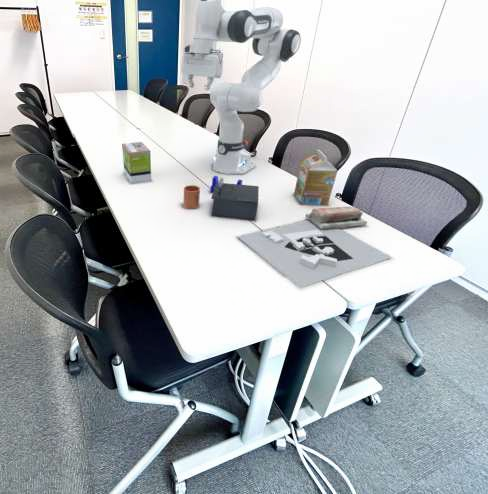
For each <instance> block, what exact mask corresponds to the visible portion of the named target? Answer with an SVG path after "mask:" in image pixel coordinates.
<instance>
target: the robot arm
mask: <svg viewBox="0 0 488 494" xmlns="http://www.w3.org/2000/svg"><path fill="white" fill-rule="evenodd" d="M283 24H284V16H283V13H282V12H281V11H280V10H279V9H277V8H274V7H270V6H269V7H268V6H264V7H263V6H262V7H257V8H254V9H251V10H248V9H242V10H241V9H240V10H231V11H227V10H226V9H225V8H224V7H223V5H222V0H199V2H198V5H197V9H196V14H195V22H194V28H195V29H194V30H195V31H194V35H193V38H192V42H190V43H188V44H186V45H185V46H184V47H183V49H182V52H183V53H184V54H183V55H182V60H181V69H180V70H181V74H183V75H187V76H186V78H187V82H188V88H191V89H194V88H195V82H194V76H195V77H205V78H206V81H207V82H206V84H204V87H203V90H204V91H210V93H209V100H210V103H211V104H212V106H213V107H214V108H215V111H216V113H217V117H218V121H219V133H218V140H217V147H216V148H217V149H216V151H215V156H213V160H214V161H213V163H212V166H213V167H212V169H213V170H214V171H215V172H217V173H220V174H227V175H244V174H245V173H247V172H249V171H251V170H252V169H254V168H255V167H256V164H255V163H254V162H252V157H256V156H257V153H258V152H257V150H256V149H255V150H253V153H254V154H251V153H250V152H249V151H247V150H246V149H245V146H247V145H248V144H249V143H248V140H245V139H244V138H243V137H244V130H245V123H244V122H243V120H242V119H241V118H240V117H239V115H238V112H240V113H251V112H255V111H257V110H258V109H259V108H260V107H261V105H262V102H263V93H262V91H263V90H264V89H265V88H266V87H267V86H268V85H269V84H270V83H272V81H273V80H275V78H276V77H277V76H278V74H279V72H280V70H281V67H282V66H281V65H282V64H281V63H287V62H289V61H290V59H291V58H293V57H294V55H295V54H297V52H298V51H299V49H300V46H301V41H302V38H301V33H300V32H299V31H298V30H295V29H291V28H290V29H286V28H282V26H283ZM249 39H252V42H251V44H252V45H251V48H252V51H253V53H254V54H255V55H257V56H261V57H262V58H261V59H260V60H258V61H257V62H256V63H255V64H253V65H252V66H251V67H249V68H248V69H247V70H246V71H245V72H244V73H243V75H242V77H241V82H239V83H236V82H219V83H216V84H215V85H213V86H212V84H213V82H214V80H215V79H221V77H222V76H223V69H224V53H223V51H222V50H221V49H217V42H223V43H224V42H226V43H239V44H244V43H246V42H247V41H249ZM211 86H212V88H211ZM243 139H244V140H243Z"/></svg>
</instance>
